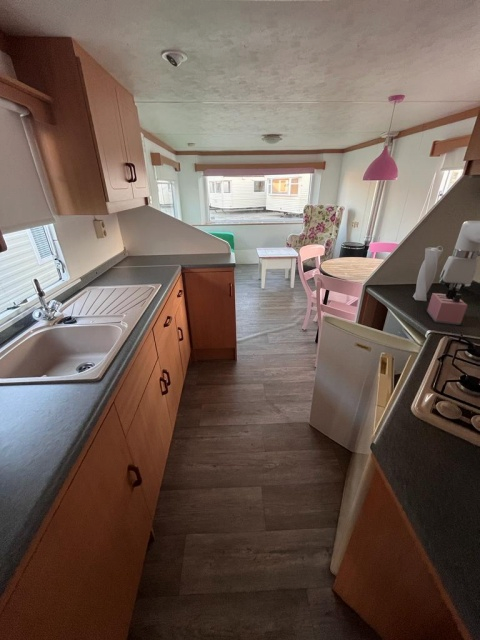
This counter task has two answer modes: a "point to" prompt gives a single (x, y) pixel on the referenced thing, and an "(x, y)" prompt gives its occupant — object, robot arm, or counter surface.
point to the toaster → (446, 309)
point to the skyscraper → (427, 273)
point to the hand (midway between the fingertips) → (449, 298)
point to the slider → (457, 298)
